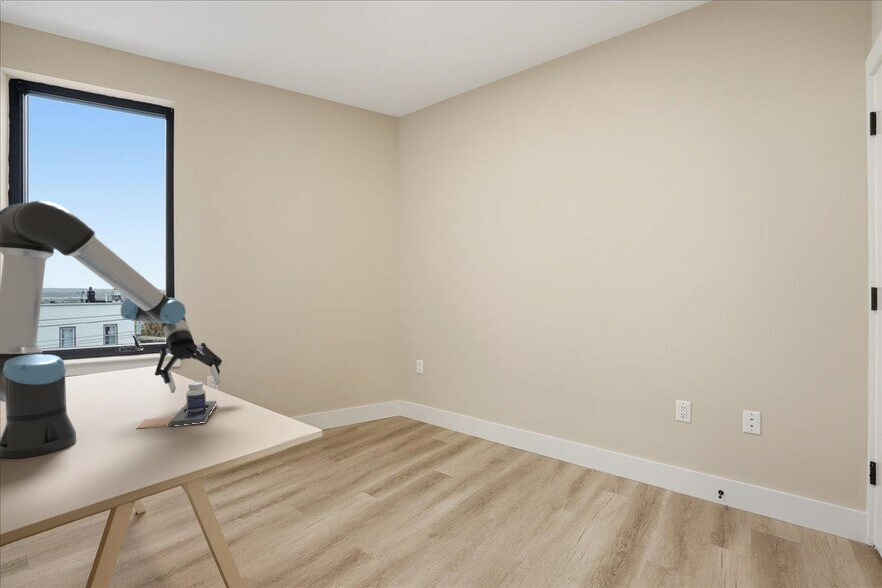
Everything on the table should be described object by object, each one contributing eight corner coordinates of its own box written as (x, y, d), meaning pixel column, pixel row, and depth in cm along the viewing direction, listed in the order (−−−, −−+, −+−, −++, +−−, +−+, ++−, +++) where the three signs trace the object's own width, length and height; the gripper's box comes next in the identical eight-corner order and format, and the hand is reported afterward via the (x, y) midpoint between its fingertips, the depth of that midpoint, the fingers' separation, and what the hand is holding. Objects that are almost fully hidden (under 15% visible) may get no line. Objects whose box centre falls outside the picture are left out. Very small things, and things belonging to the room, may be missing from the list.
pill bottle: (208, 413, 146) (207, 383, 146) (190, 417, 142) (189, 386, 142) (202, 410, 150) (201, 380, 149) (184, 413, 146) (183, 383, 145)
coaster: (167, 426, 134) (167, 424, 134) (136, 429, 132) (136, 427, 132) (174, 418, 142) (174, 416, 142) (145, 420, 139) (145, 419, 139)
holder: (204, 423, 136) (204, 418, 136) (170, 426, 133) (170, 421, 133) (216, 405, 155) (216, 400, 155) (186, 407, 152) (186, 402, 152)
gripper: (213, 338, 169) (232, 385, 160) (134, 347, 151) (150, 401, 142) (218, 325, 165) (238, 372, 156) (139, 333, 147) (155, 387, 138)
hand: (196, 386), depth 149 cm, fingers open, 13 cm apart
